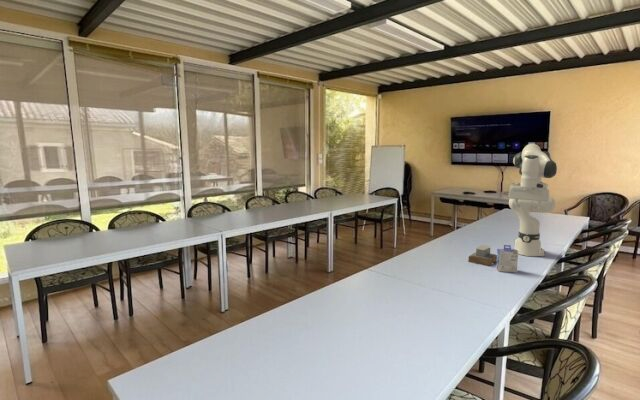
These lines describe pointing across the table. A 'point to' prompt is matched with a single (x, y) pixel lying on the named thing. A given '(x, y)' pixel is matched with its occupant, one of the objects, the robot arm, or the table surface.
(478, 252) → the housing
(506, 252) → the ink cartridge box
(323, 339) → the table surface
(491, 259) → the wooden tray
